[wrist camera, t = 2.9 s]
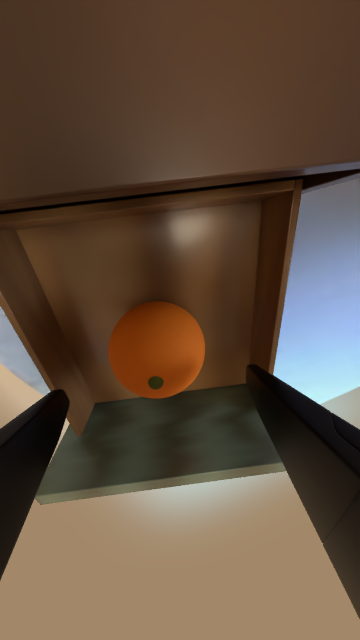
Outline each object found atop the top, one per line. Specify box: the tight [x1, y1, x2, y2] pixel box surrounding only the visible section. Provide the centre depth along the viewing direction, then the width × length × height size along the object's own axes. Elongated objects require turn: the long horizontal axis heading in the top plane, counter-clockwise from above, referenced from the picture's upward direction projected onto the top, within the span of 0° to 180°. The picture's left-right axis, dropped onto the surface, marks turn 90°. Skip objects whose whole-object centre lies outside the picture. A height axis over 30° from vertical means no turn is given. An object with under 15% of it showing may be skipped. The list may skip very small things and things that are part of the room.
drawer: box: [0, 179, 304, 505], centre depth 12 cm, size 18×18×8 cm
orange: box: [108, 301, 205, 398], centre depth 12 cm, size 6×6×6 cm
